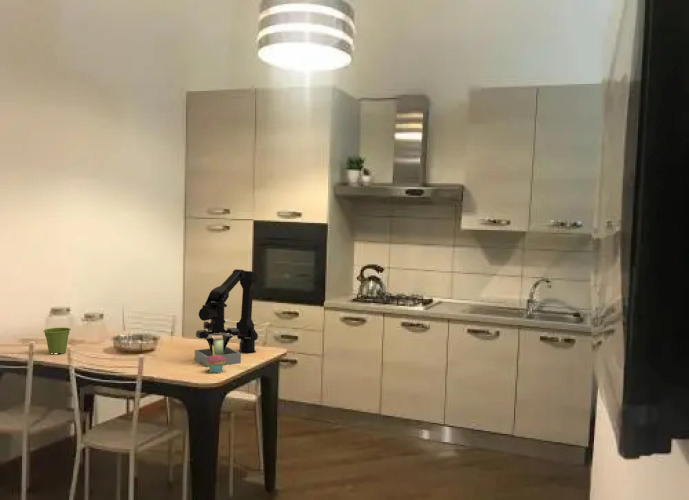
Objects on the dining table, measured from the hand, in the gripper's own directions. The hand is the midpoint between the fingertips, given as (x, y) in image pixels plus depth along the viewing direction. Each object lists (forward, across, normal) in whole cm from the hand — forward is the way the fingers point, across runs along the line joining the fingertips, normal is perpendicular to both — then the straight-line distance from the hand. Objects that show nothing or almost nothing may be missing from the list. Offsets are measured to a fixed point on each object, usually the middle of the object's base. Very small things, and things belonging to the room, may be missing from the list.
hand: (217, 351), depth 284 cm
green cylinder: (+2, 0, 0) cm, 2 cm away
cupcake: (+5, +7, +17) cm, 19 cm away
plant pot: (+5, +61, -50) cm, 79 cm away
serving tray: (+4, 0, 0) cm, 4 cm away
